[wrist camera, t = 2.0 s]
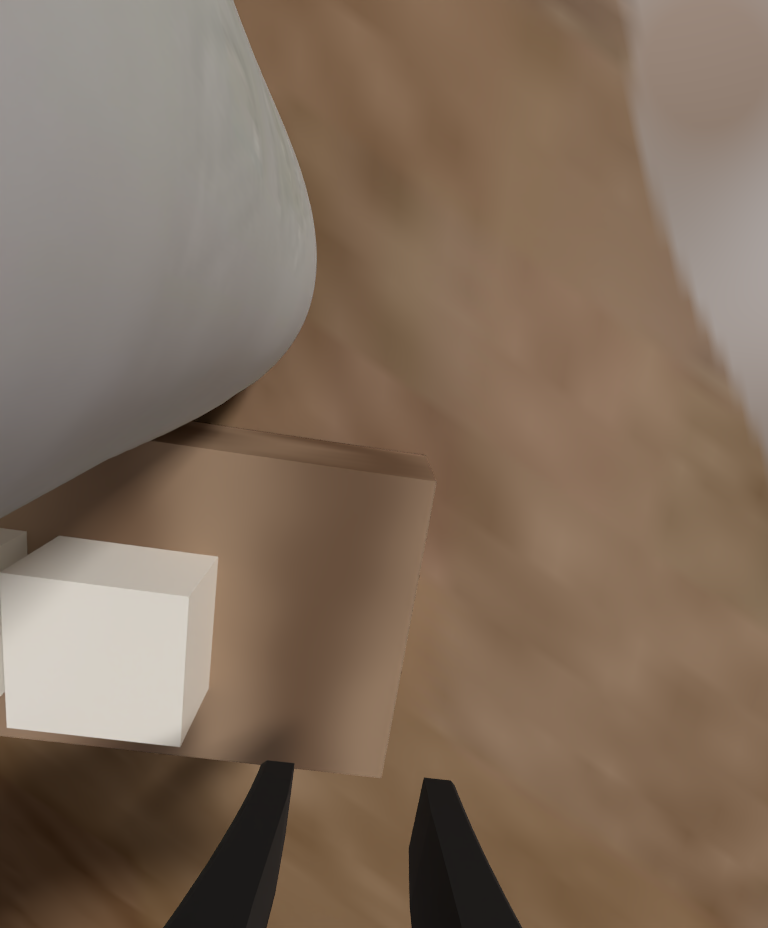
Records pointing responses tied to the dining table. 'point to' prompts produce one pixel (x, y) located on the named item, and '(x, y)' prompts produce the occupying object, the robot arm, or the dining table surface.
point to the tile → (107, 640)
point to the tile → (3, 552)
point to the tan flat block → (270, 582)
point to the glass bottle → (136, 229)
